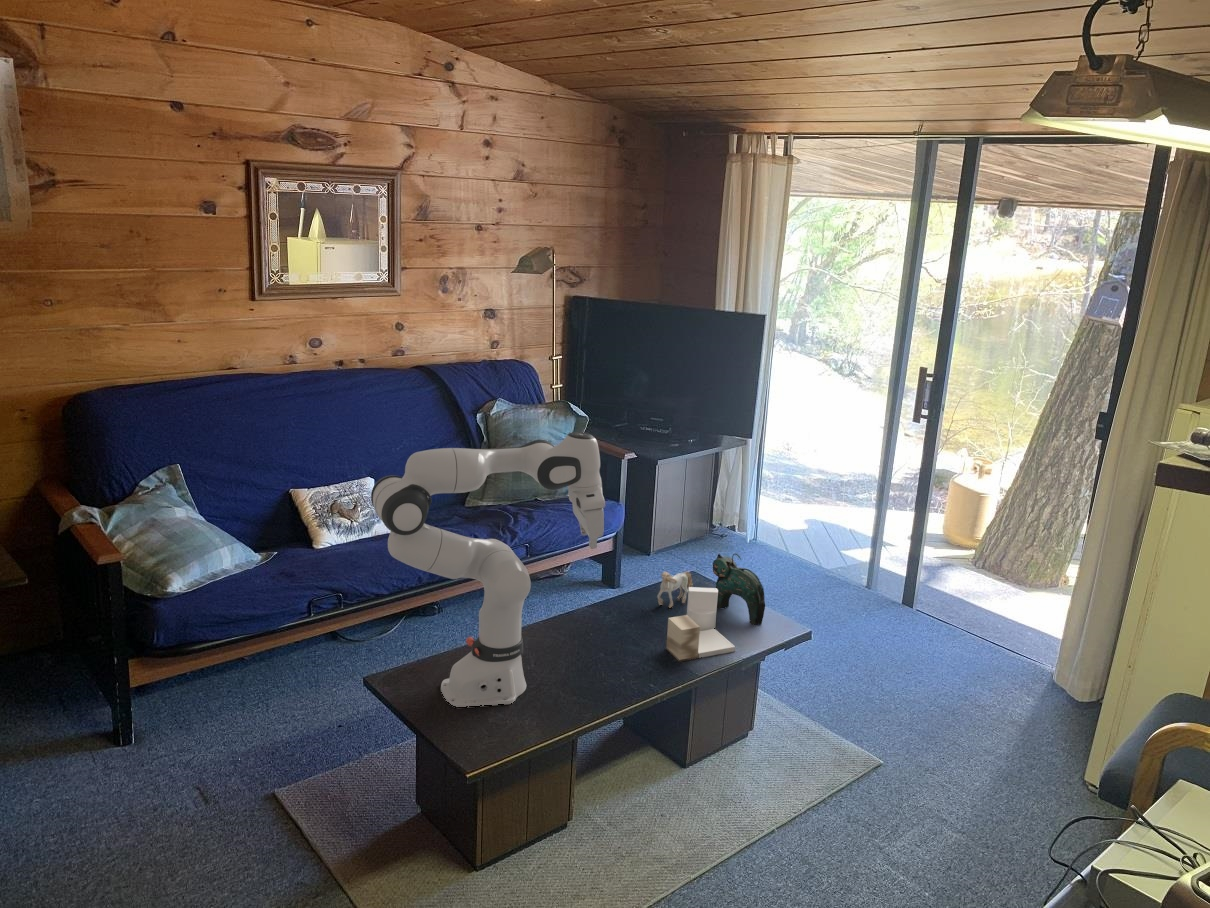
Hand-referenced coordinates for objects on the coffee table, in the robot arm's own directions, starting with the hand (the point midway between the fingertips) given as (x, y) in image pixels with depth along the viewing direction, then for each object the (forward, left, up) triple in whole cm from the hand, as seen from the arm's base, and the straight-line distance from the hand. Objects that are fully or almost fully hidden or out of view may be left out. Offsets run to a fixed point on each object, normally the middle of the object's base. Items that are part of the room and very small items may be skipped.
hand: (588, 540), depth 254 cm
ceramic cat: (+60, +17, -39) cm, 73 cm away
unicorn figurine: (+44, +27, -39) cm, 64 cm away
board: (+40, +2, -39) cm, 56 cm away
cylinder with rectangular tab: (+45, +14, -39) cm, 61 cm away
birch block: (+31, 0, -39) cm, 49 cm away
